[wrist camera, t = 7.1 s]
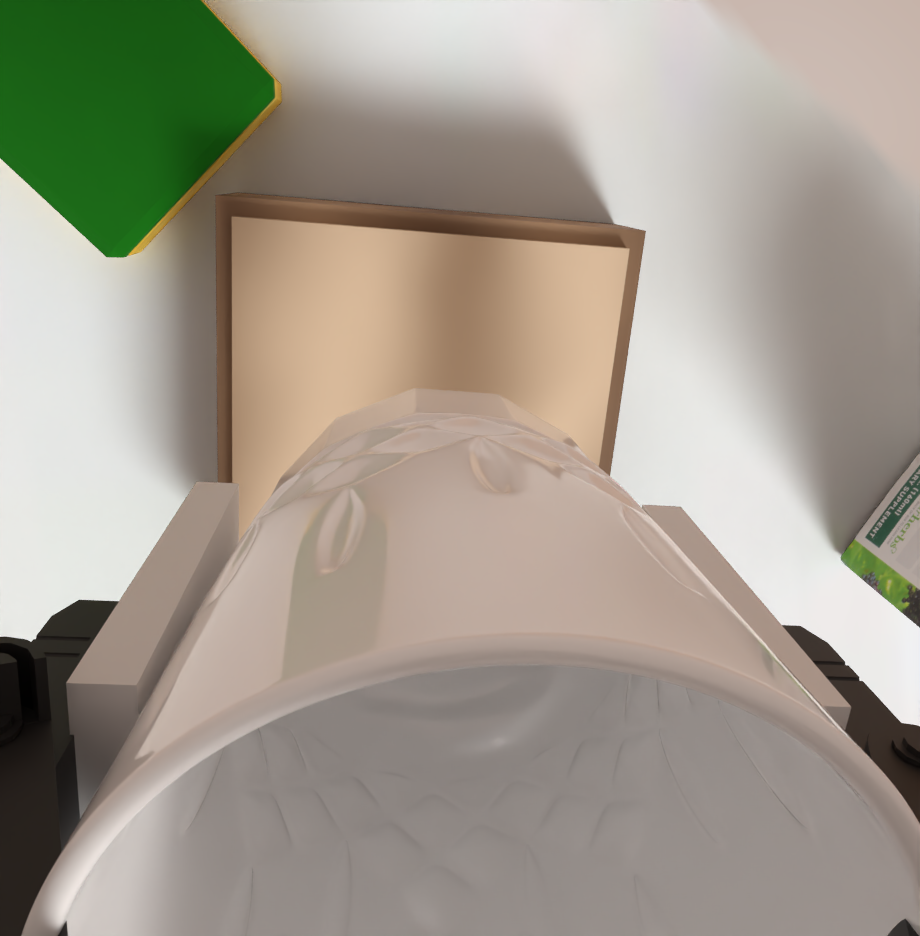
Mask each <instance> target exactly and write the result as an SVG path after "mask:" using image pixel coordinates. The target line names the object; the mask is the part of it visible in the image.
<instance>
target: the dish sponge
mask: <svg viewBox="0 0 920 936" xmlns="http://www.w3.org/2000/svg"><path fill="white" fill-rule="evenodd" d="M281 102H282V97H281V84H280V83H279V82H278V81H277V80H276V78H275V77H274V76H273V75H272V74H271V73H270V72H269V71H268V70H267V69H266V68H265V67H264V66H263V64H262V63H261V62H260V61H259V60H258V59H257V58H256V57H255V56H254V55H253V54H252V53H251V51H250V50H249V49H248V48H247V47H246V46H245V45H244V44H243V43H242V42H241V41H240V40H239V38H238V37H237V36H236V35H235V34H234V33H233V32H232V31H231V30H230V29H229V28H228V27H227V26H226V24H225V23H224V22H223V21H222V20H221V19H220V18H219V17H218V16H217V15H216V14H215V13H214V11H213V10H212V9H211V8H210V7H209V6H208V5H207V4H206V3H205V2H204V1H203V0H0V158H1V159H2V160H3V161H4V162H5V163H6V164H7V165H8V166H9V167H10V168H11V169H12V170H14V171H15V172H16V173H17V174H18V175H19V176H20V177H21V178H22V179H23V180H24V181H25V182H26V183H28V184H29V185H30V186H31V187H32V188H33V189H34V190H35V191H36V192H37V193H38V194H39V195H40V196H42V197H43V198H44V199H45V200H46V201H47V202H48V203H49V204H50V205H51V206H52V207H53V208H54V209H56V210H57V211H58V212H59V213H60V214H61V215H62V216H63V217H64V218H65V219H66V220H67V221H68V222H69V223H71V224H72V225H73V226H74V227H75V228H76V229H77V230H78V231H79V232H80V233H81V234H82V235H83V236H85V237H86V238H87V239H88V240H89V241H90V242H91V243H92V244H93V245H94V246H95V247H96V248H97V249H99V250H100V251H101V252H102V253H103V254H104V255H105V256H106V257H126V256H130V255H133V254H136V253H139V252H141V251H142V250H143V249H144V248H145V247H146V246H147V245H148V244H149V243H150V242H151V241H152V240H153V238H154V237H155V236H156V235H157V234H158V233H159V232H160V231H161V230H162V229H163V228H164V227H165V226H166V225H167V224H168V222H169V221H170V220H171V219H172V218H173V217H174V216H175V215H176V214H177V213H178V212H179V211H180V210H181V209H182V208H183V206H184V205H185V204H186V203H187V202H188V201H189V200H190V199H191V198H192V197H193V196H194V195H195V194H196V193H197V192H198V191H199V189H200V188H201V187H202V186H203V185H204V184H205V183H206V182H207V181H208V180H209V179H210V178H211V177H212V176H213V175H214V173H215V172H216V171H217V170H218V169H219V168H220V167H221V166H222V165H223V164H224V163H225V162H226V161H227V160H228V159H229V157H230V156H231V155H232V154H233V153H234V152H235V151H236V150H237V149H238V148H239V147H240V146H241V145H242V144H243V143H244V142H245V140H246V139H247V138H248V137H249V136H250V135H251V134H252V133H253V132H254V131H255V130H256V129H257V128H258V127H259V126H260V124H261V123H262V122H263V121H264V120H265V119H266V118H267V117H268V116H269V115H270V114H271V113H272V112H273V111H274V110H275V108H276V107H277V106H278V105H279V104H280V103H281Z"/></svg>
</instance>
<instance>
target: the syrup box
mask: <svg viewBox="0 0 920 936" xmlns="http://www.w3.org/2000/svg"><path fill="white" fill-rule="evenodd" d="M841 561H842V562H843V563H844V564H845V565H846V566H847V567H848V568H850V569H851V570H852V571H853V572H854V573H855V574H857V575H858V576H859V577H860V578H861V579H863V580H864V581H865V582H866V583H867V584H868V585H870V586H871V587H872V588H873V589H874V590H876V591H877V592H878V593H879V594H880V595H882V596H883V597H884V598H885V599H886V600H888V601H889V602H890V603H891V604H892V605H894V606H895V607H896V608H897V609H898V610H899V611H901V612H902V613H903V614H904V615H905V616H907V617H908V618H909V619H910V620H911V621H913V622H914V623H915V624H916V625H917V626H919V627H920V453H919V454H918V455H917V456H916V458H915V459H914V460H913V462H912V463H911V464H910V466H909V467H908V469H907V470H906V471H905V472H904V473H903V474H902V475H901V477H900V478H899V479H898V481H897V482H896V483H895V484H894V486H893V487H892V488H891V490H890V491H889V492H888V494H887V495H886V496H885V498H884V499H883V501H882V502H881V503H880V505H879V506H878V507H877V509H876V510H875V511H874V513H873V514H872V515H871V517H870V518H869V519H868V521H867V522H866V523H865V525H864V526H863V527H862V529H861V530H860V531H859V533H858V534H857V536H856V537H855V538H854V540H853V541H852V543H851V544H850V545H849V546H848V548H847V549H846V551H845V552H844V553H843V554H842V556H841Z"/></svg>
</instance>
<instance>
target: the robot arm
mask: <svg viewBox="0 0 920 936" xmlns="http://www.w3.org/2000/svg"><path fill="white" fill-rule="evenodd" d="M642 509H643V510H644V511H645V512H646V514H647V515H648V516H650V517H651V518H652V519H653V520H654V521H655V522H656V523H657V524H658V525H659V526H661V527H662V528H663V529H664V530H665V532H666V533H667V534H668V535H669V536H670V537H671V538H672V539H673V540H674V541H675V542H676V543H677V544H678V545H679V547H680V548H681V549H682V550H683V551H684V552H685V553H686V554H687V556H688V557H689V558H690V559H691V560H692V561H693V562H694V563H695V564H696V566H697V567H698V568H699V569H700V570H701V571H702V572H703V573H704V575H705V576H706V577H707V578H708V579H709V580H710V581H711V582H712V583H713V585H714V586H715V587H716V588H717V589H718V590H719V591H720V592H721V594H722V595H723V596H724V597H725V598H726V599H727V600H728V601H729V603H730V604H731V605H732V606H733V607H734V608H735V609H736V610H737V611H738V613H739V614H740V615H741V616H742V617H743V618H744V619H745V620H746V622H747V623H748V624H749V625H750V626H751V627H752V628H753V629H754V630H755V632H756V633H757V634H758V635H759V636H760V637H761V638H762V639H763V640H764V642H765V643H766V644H767V645H768V646H769V647H770V648H771V649H772V650H773V652H774V653H775V654H776V655H777V656H778V657H779V658H780V659H781V660H782V662H783V663H784V664H785V665H786V666H787V667H788V668H789V669H790V670H791V671H792V673H793V674H794V675H795V676H796V677H797V678H798V679H799V680H800V681H801V682H802V684H803V685H804V686H805V687H806V688H807V689H808V690H809V691H810V692H811V693H812V695H813V696H814V697H815V698H816V699H817V700H818V701H819V702H820V703H821V704H822V706H823V707H824V708H825V709H826V710H827V711H828V712H829V713H830V714H831V715H832V717H833V718H834V719H835V720H836V721H837V722H838V723H839V724H840V725H841V726H842V728H843V729H844V730H845V731H846V732H847V733H848V734H849V735H850V736H851V737H852V738H853V740H854V741H855V742H856V743H857V744H858V745H859V746H860V747H861V748H862V749H863V751H864V752H865V753H866V754H867V755H868V756H869V757H870V758H871V759H872V760H873V761H874V762H875V764H876V765H877V766H878V767H879V768H880V769H881V770H882V771H883V772H884V774H885V775H886V776H887V777H888V778H889V780H890V781H891V782H892V783H893V785H894V786H895V787H896V788H897V790H898V791H899V792H900V794H901V795H902V797H903V798H904V799H905V801H906V802H907V804H908V805H909V807H910V808H911V810H912V811H913V813H914V815H915V816H916V818H917V819H918V821H919V823H920V726H917V725H911V724H904V723H901V722H900V721H899V720H898V719H897V718H896V717H895V716H894V715H893V714H892V713H891V711H890V710H889V709H888V708H887V707H886V706H885V705H884V704H883V703H882V702H881V701H880V699H879V698H878V697H877V696H876V695H875V694H874V693H873V692H872V691H871V690H870V689H869V687H868V686H867V685H866V684H865V683H864V682H863V681H859V677H858V675H857V674H856V673H855V672H854V671H853V670H852V669H851V668H850V667H849V666H846V665H845V661H844V660H843V659H842V658H841V657H840V656H839V655H838V654H837V653H836V652H835V650H834V649H833V648H832V647H831V646H830V645H829V644H828V643H827V642H825V641H824V640H822V639H820V638H819V637H817V636H816V635H814V634H812V633H811V632H809V631H808V630H806V629H804V628H803V627H801V626H786V625H781V624H780V623H779V622H778V620H777V619H776V618H775V617H774V616H773V615H772V613H771V612H770V611H769V610H768V609H767V607H766V606H765V605H764V604H763V603H762V602H761V600H760V599H759V598H758V597H757V596H756V595H755V593H754V592H753V591H752V590H751V589H750V588H749V586H748V585H747V584H746V583H745V582H744V580H743V579H742V578H741V577H740V576H739V575H738V573H737V572H736V571H735V570H734V569H733V568H732V566H731V565H730V564H729V563H728V562H727V561H726V559H725V558H724V557H723V556H722V555H721V554H720V552H719V551H718V550H717V549H716V548H715V546H714V545H713V544H712V543H711V542H710V541H709V539H708V538H707V537H706V536H705V535H704V534H703V532H702V531H701V530H700V529H699V528H698V527H697V525H696V524H695V523H694V522H693V521H692V519H691V518H690V517H689V516H688V515H687V514H686V512H685V511H684V510H683V509H682V508H681V507H675V506H656V505H642ZM238 542H239V484H237V483H218V482H199V481H197V482H196V483H195V485H194V486H193V488H192V489H191V491H190V493H189V494H188V496H187V497H186V499H185V500H184V502H183V503H182V505H181V506H180V508H179V510H178V511H177V513H176V514H175V516H174V517H173V519H172V520H171V522H170V523H169V525H168V526H167V528H166V530H165V531H164V533H163V534H162V536H161V537H160V539H159V540H158V542H157V543H156V545H155V547H154V548H153V550H152V551H151V553H150V554H149V556H148V557H147V559H146V560H145V562H144V564H143V565H142V567H141V568H140V570H139V571H138V573H137V574H136V576H135V577H134V579H133V581H132V582H131V584H130V585H129V587H128V588H127V590H126V591H125V593H124V594H123V596H122V597H121V599H120V601H94V600H78V601H76V602H75V603H73V604H71V605H70V606H68V607H66V608H65V609H63V610H61V611H60V612H58V613H56V614H55V615H53V616H51V618H50V619H49V620H48V622H47V623H46V624H45V625H44V627H43V628H42V629H41V631H40V632H39V633H38V634H37V638H36V639H34V640H33V641H32V642H30V641H28V640H25V639H18V638H11V637H0V936H21V934H22V931H23V928H24V926H25V923H26V920H27V918H28V915H29V913H30V910H31V908H32V906H33V904H34V901H35V899H36V897H37V895H38V893H39V891H40V889H41V887H42V885H43V883H44V881H45V879H46V877H47V876H48V874H49V872H50V870H51V869H52V867H53V865H54V863H55V862H56V860H57V858H58V857H59V855H60V853H61V851H62V850H63V848H64V846H65V844H66V843H67V841H68V839H69V837H70V836H71V834H72V832H73V830H74V829H75V827H76V825H77V823H78V822H79V820H80V818H81V816H82V815H83V813H84V811H85V809H86V808H87V806H88V804H89V802H90V801H91V799H92V797H93V795H94V794H95V792H96V790H97V788H98V787H99V785H100V783H101V781H102V780H103V778H104V776H105V774H106V773H107V771H108V769H109V767H110V766H111V764H112V762H113V760H114V759H115V757H116V755H117V753H118V752H119V750H120V748H121V746H122V745H123V743H124V741H125V739H126V738H127V736H128V734H129V732H130V730H131V729H132V727H133V725H134V723H135V722H136V720H137V718H138V716H139V714H140V713H141V711H142V709H143V707H144V705H145V704H146V702H147V700H148V698H149V696H150V695H151V693H152V691H153V689H154V687H155V686H156V684H157V682H158V680H159V678H160V677H161V675H162V673H163V671H164V669H165V668H166V666H167V664H168V662H169V660H170V659H171V657H172V655H173V653H174V651H175V650H176V648H177V646H178V644H179V642H180V641H181V639H182V637H183V635H184V633H185V632H186V630H187V628H188V626H189V624H190V623H191V621H192V619H193V617H194V615H195V614H196V612H197V610H198V608H199V607H200V605H201V603H202V601H203V600H204V598H205V596H206V595H207V593H208V591H209V589H210V588H211V586H212V584H213V583H214V581H215V580H216V578H217V576H218V575H219V573H220V572H221V570H222V569H223V567H224V566H225V564H226V563H227V561H228V560H229V558H230V557H231V555H232V554H233V552H234V550H235V548H236V546H237V544H238ZM58 936H68V930H67V921H66V923H65V924H64V926H63V928H62V930H61V932H60V933H59V935H58ZM887 936H919V935H918V934H917V933H916V931H915V930H914V929H913V928H912V926H911V925H910V924H909V922H908V921H907V920H906V919H903V920H902V921H900V922H899V923H898V924H897V925H896V926H895V927H894V928H893V929H892V930H891V931H890V933H889V934H888V935H887Z"/></svg>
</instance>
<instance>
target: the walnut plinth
mask: <svg viewBox="0 0 920 936" xmlns="http://www.w3.org/2000/svg"><path fill="white" fill-rule="evenodd" d="M645 232H646V231H643V230H639V229H634V228H630V227H625V226H621V225H616V224H607V223H595V222H583V221H571V220H559V219H547V218H535V217H523V216H511V215H499V214H487V213H475V212H463V211H451V210H439V209H427V208H415V207H403V206H392V205H380V204H368V203H356V202H344V201H332V200H320V199H308V198H296V197H284V196H272V195H260V194H248V193H231V194H222V195H216V316H217V438H218V483H237V484H239V541H240V539H241V538H242V536H243V535H244V533H245V532H246V530H247V529H248V527H249V526H250V524H251V523H252V521H253V520H254V518H255V517H256V515H257V514H258V513H259V511H260V510H261V508H262V507H263V506H264V504H265V503H266V502H267V500H268V499H269V498H270V497H271V495H272V493H273V491H274V489H275V487H276V485H277V483H278V481H279V480H280V478H281V476H282V475H283V474H284V473H285V472H286V471H287V470H288V469H289V468H290V467H291V466H292V465H293V463H294V462H295V461H296V460H297V459H298V458H299V457H300V456H301V455H302V454H303V453H304V452H305V451H306V450H307V449H308V447H309V446H310V445H311V444H312V443H313V442H314V441H315V440H316V439H317V438H318V437H319V436H320V435H321V434H322V433H323V431H324V430H325V429H326V428H327V427H328V426H329V425H330V424H331V423H332V422H333V421H334V420H335V419H336V418H337V417H340V416H342V415H345V414H347V413H350V412H353V411H355V410H358V409H361V408H363V407H366V406H368V405H371V404H374V403H376V402H379V401H381V400H384V399H387V398H389V397H392V396H395V395H397V394H400V393H402V392H405V391H408V390H410V389H413V388H424V389H438V390H451V391H465V392H478V393H492V394H499V395H501V396H503V397H504V398H506V399H508V400H510V401H511V402H513V403H515V404H516V405H518V406H520V407H522V408H523V409H525V410H527V411H529V412H530V413H532V414H534V415H536V416H537V417H539V418H541V419H542V420H544V421H546V422H548V423H549V424H551V425H553V426H555V427H556V428H558V429H560V430H562V431H563V432H565V433H567V434H568V435H569V436H570V437H571V438H572V439H573V440H574V442H575V443H576V444H577V445H578V446H579V448H580V449H581V450H582V451H583V453H584V454H585V455H586V456H587V457H588V459H589V460H591V461H592V462H593V463H594V464H596V465H597V466H598V467H599V468H601V469H602V470H603V471H604V472H605V473H606V474H608V475H609V476H610V471H611V464H612V458H613V451H614V444H615V437H616V430H617V423H618V417H619V410H620V403H621V396H622V389H623V382H624V376H625V369H626V362H627V355H628V348H629V341H630V335H631V328H632V321H633V314H634V307H635V300H636V294H637V287H638V280H639V273H640V266H641V259H642V253H643V246H644V239H645Z"/></svg>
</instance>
